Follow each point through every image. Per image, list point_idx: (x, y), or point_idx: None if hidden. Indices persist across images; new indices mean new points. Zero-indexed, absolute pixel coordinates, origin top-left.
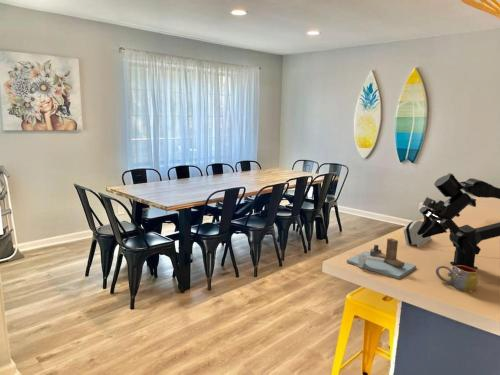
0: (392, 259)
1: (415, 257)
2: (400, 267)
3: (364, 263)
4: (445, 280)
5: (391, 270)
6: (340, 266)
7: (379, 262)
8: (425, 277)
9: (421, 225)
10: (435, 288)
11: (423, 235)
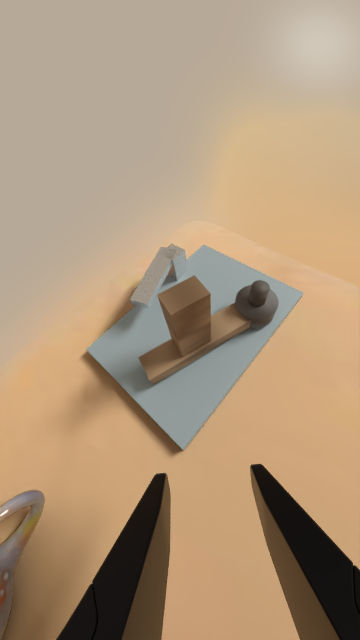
0: (172, 340)
1: (339, 512)
2: None
3: (170, 274)
4: (19, 527)
5: (130, 338)
6: (175, 240)
7: None
8: (92, 454)
9: (345, 560)
10: (5, 453)
11: (149, 490)
